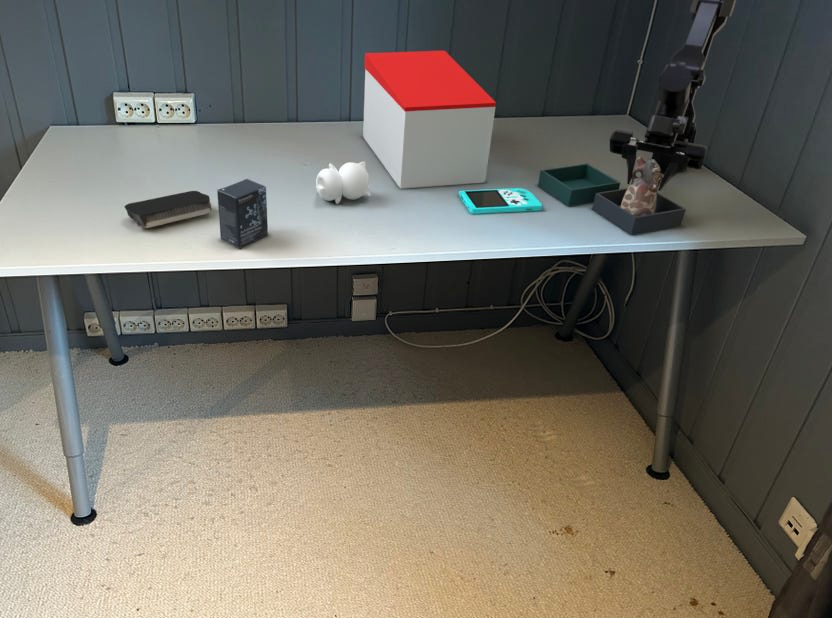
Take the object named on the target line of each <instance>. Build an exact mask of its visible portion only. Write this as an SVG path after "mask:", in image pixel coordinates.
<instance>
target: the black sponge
mask: <svg viewBox="0 0 832 618" xmlns="http://www.w3.org/2000/svg"><path fill="white" fill-rule="evenodd" d="M123 207H124V209H125V210H126V214H127V216H128V217H129V218H130V219H131V220H133V221H135V222H136V224H137V225H138V226H140V227H142V228H145V229H146V228H147V229H148V228H152V227H153V228H154V227H157V226H162V225H166V224H170V223H175V222H178V221H179V222H180V221H183V220H187V219H191V218H195V217H200V216H203V215H208V214H209V213H210V212H211V211H212V204H211V199H210V196H209V195H208V194H205V193H202V192H200V191H198V190H189V191H185V192H179V193H174V194H170V195H164V196H160V197H155V198H150V199H146V200H141V201H135V202H130V203H127V204H126V205H124V206H123Z"/></svg>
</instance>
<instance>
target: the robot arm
mask: <svg viewBox="0 0 832 618" xmlns="http://www.w3.org/2000/svg"><path fill="white" fill-rule="evenodd" d="M736 2H737V0H692V3H691V5H690V10H689V13H691V14H692V16H691V20H692V23H691V25H690V27H689V30H688V33H687V35H686V38H685V41H684V44H683V45H682V48H681V49H679V50H678V51H676V52H675V53H674V54H673V55H672V58H671V60H670V62H669V64H666V65H665V67H664V68H663V70H662V71H661V74H660V75H659V79H658V80H659V81H658V84H659V89H658V103H657V106H656V109H655V112H654V114H651V116H650V119H649V122H648V124H647V127H646V130H645V132H644V138H645V139H644V140H641V139H638V138H637V137H634V132H632V131H628V130H622V129H615V130H613V132H612V133H611V135H610V137H609V152H611V153H612V154H615V155H621V158H622V159H623V160H626V167H627V180H626V184H627V185H630V184H631V182H632V172H633V171H634V169H635V165H636V162H637V153H638V151H640V152H641V151H642V152H648V153H652V156H651V159H654V160H655V161H656V162H657V163H658V165H659V167H660V170H661V171H660V173H662V174H663V176H662V180H661V181H660V184H659V186H658V188H657V192H658V191H659V192H660V191H662V189H664V188H665V186H667V184H668V183H669V182H670V180H672V179H673V178H674V176H676V175H677V174H678V173H679V172H682V171H686V170H687V168H689V169H694V170H702V168H703V165H704V162H705V159H706V155H707V152H708V148H707V146H706V145H705V144H700V143H695V140H696V138H697V132H698V129H697V122H695V119H696V111H695V107H694V100H695V98H696V97H695V96H696V94H697V90H698V89H700V87H703V85H704V84H705V81H706V79H707V76H706V72H705V71H706V70H705V69H704V68H705V66H706V62H707V59H708V56H709V52H710V50H711V47H712V43H713V40H714V37H715V36H716V35H717V34H718V33H719V32H720V31H721V30H722V29H723V28H724V27H725V25H726V23H727V20H728V18H730V17H732V14H733V12H734V8H735V6H736Z"/></svg>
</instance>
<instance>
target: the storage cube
mask: <svg viewBox="0 0 832 618" xmlns="http://www.w3.org/2000/svg"><path fill="white" fill-rule="evenodd" d="M364 70H365V71H364V74H365V75H364V97H363V98H364V99H363V129H362V130H363V131H362V138H363V139H364V140H365V142H366V143H367V144H368V145H369V147H370V149H371V150H372V152H373V153H374V154H375V155H376V157H377V159H378V160H379V162H381V164H382V165H383V167H384V168H385V170H386V171H387V173H388V174H389V175H390V176H391V178H392V179H393V181H394V183H395V184H396V185H397V186H398V188H399V189H402V190H403V189H416V188H429V187H430V188H431V187H443V186H455V185H469V184H481V183H482V184H484V183H486V179H487V171H488V165H489V157H490V151H491V150H490V149H491V143H492V134H493V129H494V128H493V127H494V123H495V121H494V120H495V115H496V114H495V113H496V107H497V102H496V101H495V100H494V99H493V98H492V97H491V96H490V95H489V94H488V93H487V91H485V90H484V89H483V87H481V86H480V85H479V84H478V83H477V82H476V81H475V80H474V79H473V78H472V77H471V76H470V75H469V74H468V72H466V71H465V69H463V67H461V65H459V64H458V63H457V61H456V60H455V59H454V58H452V57H451V55H450V54H449V53H448V52H447V51H445V50H425V51H424V50H422V51H396V52H365V53H364Z"/></svg>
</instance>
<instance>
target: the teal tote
mask: <svg viewBox="0 0 832 618" xmlns="http://www.w3.org/2000/svg"><path fill="white" fill-rule="evenodd" d="M620 186H621V181H618V180H617V179H616V178H613V177H612V176H610V175H608V174H606V173H605V172H603V171H601V170H600V169H598V168H596V167H595V166H593V165H591V164H590V163H581V164H574V165H566V166H561V167H551V168H547V169H540V171H539V177H538V183H537V187H539V188H540V189H542V190H543V191H545V192H546V193H547V194H549V195H551V196H552V197H554V198H555V199H557V200H558V201H559V202H561V203H562V204H564V205H565V206H567V207H574V206H580V205H585V204H586V205H587V204H593V203H594V198H595V194H596V193H600V192H607V191H613V190H619V189H620Z"/></svg>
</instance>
